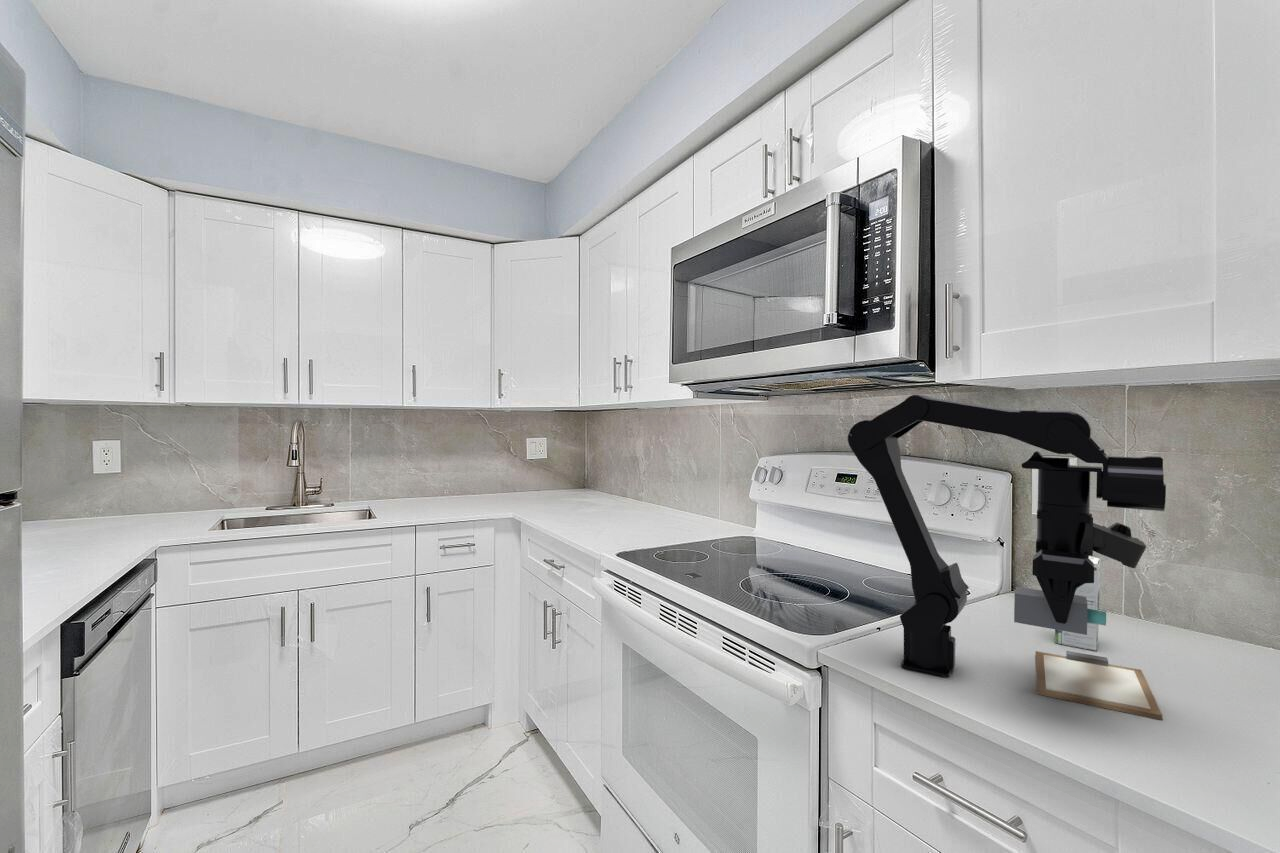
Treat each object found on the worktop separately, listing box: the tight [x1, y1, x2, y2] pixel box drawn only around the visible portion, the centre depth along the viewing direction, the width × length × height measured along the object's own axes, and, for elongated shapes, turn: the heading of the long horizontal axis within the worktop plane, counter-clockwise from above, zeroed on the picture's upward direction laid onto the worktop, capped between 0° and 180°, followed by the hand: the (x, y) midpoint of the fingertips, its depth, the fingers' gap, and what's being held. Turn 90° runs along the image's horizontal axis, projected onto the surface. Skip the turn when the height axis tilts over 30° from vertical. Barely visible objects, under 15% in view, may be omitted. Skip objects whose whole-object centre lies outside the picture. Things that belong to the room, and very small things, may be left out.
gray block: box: [1013, 586, 1107, 635], centre depth 80 cm, size 10×4×4 cm, turn 55°
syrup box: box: [1054, 556, 1101, 651], centre depth 99 cm, size 6×6×14 cm
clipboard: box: [1035, 650, 1164, 721], centre depth 84 cm, size 13×16×2 cm
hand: (1061, 618), depth 80 cm, fingers closed on gray block, 4 cm apart
